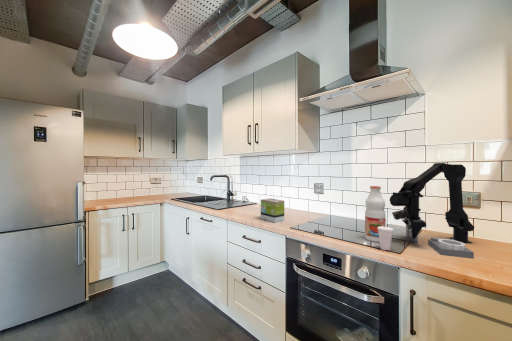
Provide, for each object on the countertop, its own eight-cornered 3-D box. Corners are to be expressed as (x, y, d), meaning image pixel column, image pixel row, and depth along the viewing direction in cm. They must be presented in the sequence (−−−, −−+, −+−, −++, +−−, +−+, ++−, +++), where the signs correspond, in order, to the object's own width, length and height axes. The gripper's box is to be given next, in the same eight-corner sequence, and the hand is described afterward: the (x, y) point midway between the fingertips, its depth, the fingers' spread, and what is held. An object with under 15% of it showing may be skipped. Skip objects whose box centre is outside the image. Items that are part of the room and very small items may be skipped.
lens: (404, 240, 114) (404, 224, 114) (415, 241, 112) (416, 225, 112) (407, 243, 109) (407, 226, 109) (419, 244, 107) (419, 227, 107)
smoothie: (394, 248, 101) (394, 218, 101) (391, 252, 96) (392, 221, 96) (379, 245, 105) (379, 216, 105) (375, 249, 100) (375, 218, 100)
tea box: (260, 219, 159) (260, 199, 159) (269, 217, 166) (269, 198, 166) (275, 223, 148) (275, 201, 148) (284, 221, 154) (284, 200, 154)
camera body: (427, 244, 107) (428, 235, 107) (455, 247, 104) (455, 237, 104) (441, 254, 94) (441, 244, 94) (473, 258, 91) (473, 247, 91)
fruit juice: (377, 236, 119) (378, 185, 119) (389, 242, 110) (390, 187, 110) (361, 236, 119) (361, 185, 119) (371, 242, 109) (372, 186, 109)
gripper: (389, 202, 122) (389, 230, 122) (398, 207, 104) (398, 240, 104) (412, 203, 118) (412, 232, 118) (426, 209, 101) (426, 243, 101)
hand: (411, 236), depth 110 cm, fingers open, 6 cm apart
